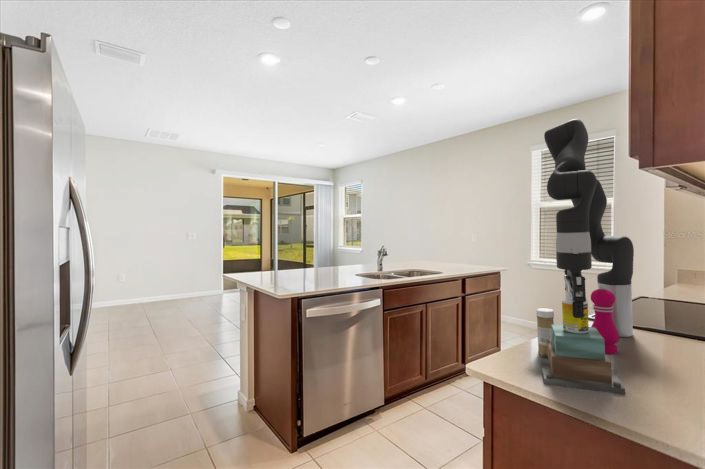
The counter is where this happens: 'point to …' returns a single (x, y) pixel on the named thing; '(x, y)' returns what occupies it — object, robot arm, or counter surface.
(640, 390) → the counter surface
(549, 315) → the sprinkles bottle
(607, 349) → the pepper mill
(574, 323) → the supplement bottle
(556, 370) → the layered slab stack
